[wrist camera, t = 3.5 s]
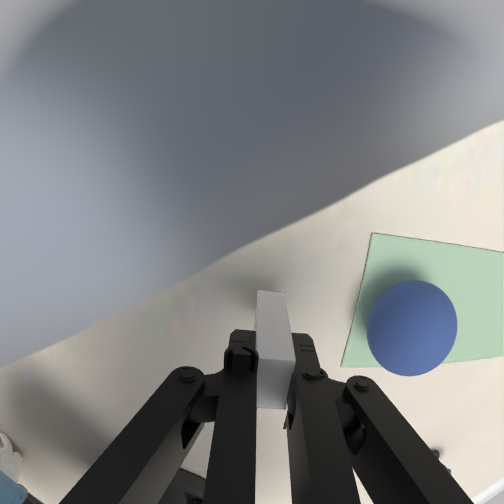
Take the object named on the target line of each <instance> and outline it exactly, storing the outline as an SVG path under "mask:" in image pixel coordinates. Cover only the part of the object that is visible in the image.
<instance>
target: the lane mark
mask: <svg viewBox="0 0 504 504" xmlns="http://www.w3.org/2000/svg"><path fill="white" fill-rule="evenodd" d="M410 280H420V281H425V282H428V283H431V284H433V285H435V286H437V287H439V288H440V289H441V290H442V291H443V292H444V293H445V294H446V295H447V296H448V297H449V299H450V300H451V302H452V304H453V306H454V308H455V311H456V316H457V335H456V339H455V342H454V345H453V347H452V349H451V351H450V353H449V354H448V356H447V357H446V358H445V359H444V361H443V362H442V363H441V364H443V363H454V362H463V361H472V360H480V359H487V358H494V357H501V356H504V253H503V252H497V251H491V250H485V249H479V248H473V247H467V246H460V245H454V244H447V243H441V242H434V241H427V240H420V239H413V238H406V237H398V236H391V235H384V234H376V233H372V234H371V240H370V245H369V251H368V256H367V261H366V266H365V271H364V276H363V280H362V285H361V289H360V294H359V298H358V302H357V306H356V310H355V314H354V318H353V322H352V326H351V330H350V334H349V337H348V341H347V345H346V348H345V352H344V355H343V359H342V362H341V365H340V366H341V367H382V366H381V365H380V364H379V363H378V362H377V361H376V359H375V358H374V356H373V355H372V353H371V350H370V348H369V346H368V341H367V333H366V332H367V322H368V317H369V314H370V311H371V309H372V307H373V305H374V304H375V302H376V301H377V299H378V298H379V297H380V296H381V295H382V294H383V293H384V292H385V291H386V290H388V289H389V288H390V287H392V286H394V285H396V284H398V283H401V282H405V281H410Z"/></svg>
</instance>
